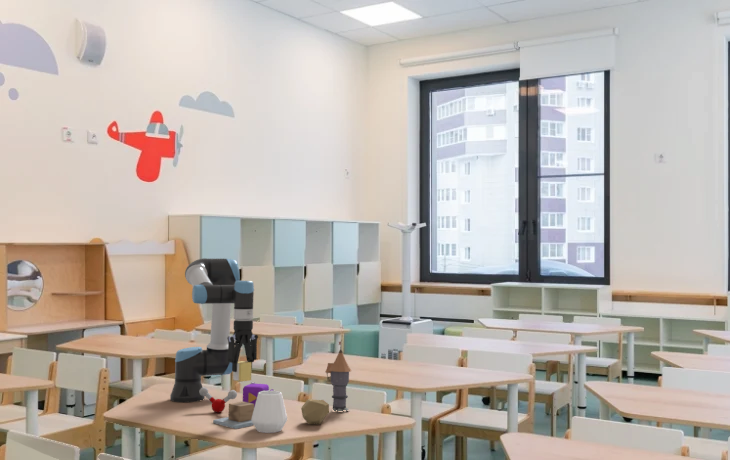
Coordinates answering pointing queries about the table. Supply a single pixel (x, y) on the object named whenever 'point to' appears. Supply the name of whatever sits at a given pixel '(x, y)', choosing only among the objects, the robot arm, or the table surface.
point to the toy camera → (253, 392)
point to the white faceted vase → (269, 412)
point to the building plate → (232, 423)
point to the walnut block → (240, 411)
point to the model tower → (339, 381)
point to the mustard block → (244, 371)
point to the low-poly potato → (314, 411)
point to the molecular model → (218, 404)
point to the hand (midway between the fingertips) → (241, 379)
